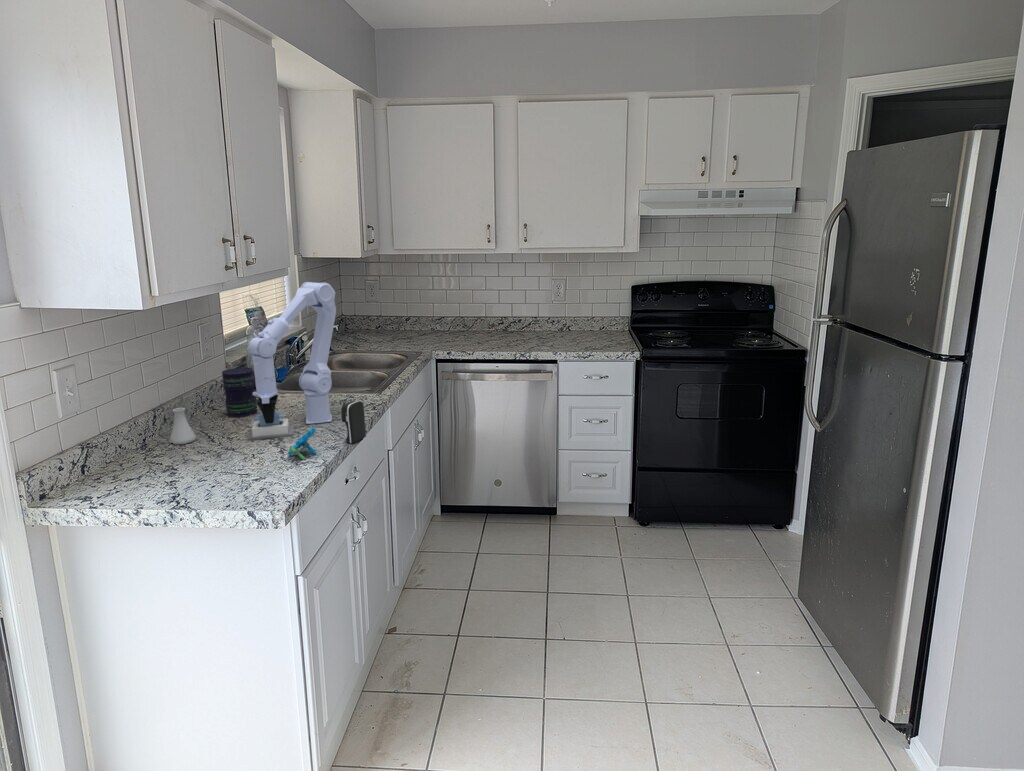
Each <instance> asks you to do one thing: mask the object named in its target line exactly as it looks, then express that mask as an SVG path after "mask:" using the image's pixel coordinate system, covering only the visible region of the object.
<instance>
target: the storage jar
mask: <svg viewBox="0 0 1024 771" xmlns="http://www.w3.org/2000/svg"><path fill="white" fill-rule="evenodd" d="M221 376H222V385H223V389H224V392H225V400H224V401H225V408H226V412H227V415H226V416H227V418H231V419H233V418H234V419H239V418H240V419H241V418H248V417H251V415H252V416H255V415H257V414H258V413H257V412H258V405H257V401H258V400H257V396H256V395H255V396H253V392H256V391H255V386H256V382H255V375H254V368H252V367H234V368H229V369H224V370H222V371H221ZM256 413H257V414H256ZM254 414H255V415H254Z"/></svg>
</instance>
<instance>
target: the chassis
mask: <svg viewBox="0 0 1024 771" xmlns="http://www.w3.org/2000/svg"><path fill="white" fill-rule="evenodd" d="M294 432H295V424H291V425H290V423H289V418H282V419H281V418H280V425H274V426H264V427H260V422H259V420H257V421H254V422H253V424H252V428H251V429H249V432H248V435H247V438H246V441H254V440H256V441H257V440H266V439H275V438H284V437H294V434H293V433H294Z"/></svg>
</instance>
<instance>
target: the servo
mask: <svg viewBox="0 0 1024 771" xmlns="http://www.w3.org/2000/svg"><path fill="white" fill-rule="evenodd" d="M281 418H282V419H285V412H284V413H282V412H281V413H280V410H275V411H274V421H273V423H267V424H266V422H265V420H264V417H263V414H262V411H261V412H259V414H258V415H254V418H253V421H259V422H260V427H264V426H274V425H280V419H281Z"/></svg>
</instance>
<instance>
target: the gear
mask: <svg viewBox="0 0 1024 771" xmlns="http://www.w3.org/2000/svg"><path fill="white" fill-rule="evenodd" d="M315 432H317V428H316V427H315V426H313V427H312V428H310V429H309V430H308V431H307V433H304V434H303V435H302V437H299V438H298V440H297V441H295V444H294V445H293V446H291V447H290V448H289V450H288V452H287V455H289V456H292V455H293V453H294V455H295V456H298V457H300V459H302V461H304V460H306V456H304V455H303V454H302V453H301V452H302V451H303V450H305V449H306V450H308V451H309V452H311V454H312V455H314V454H315V455H316V454H317V451H316V450H315V449H314V448H313V447H311V445H310V443H309V441H308V440H309V439H310V438H312V436H313V435H314V433H315Z"/></svg>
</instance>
